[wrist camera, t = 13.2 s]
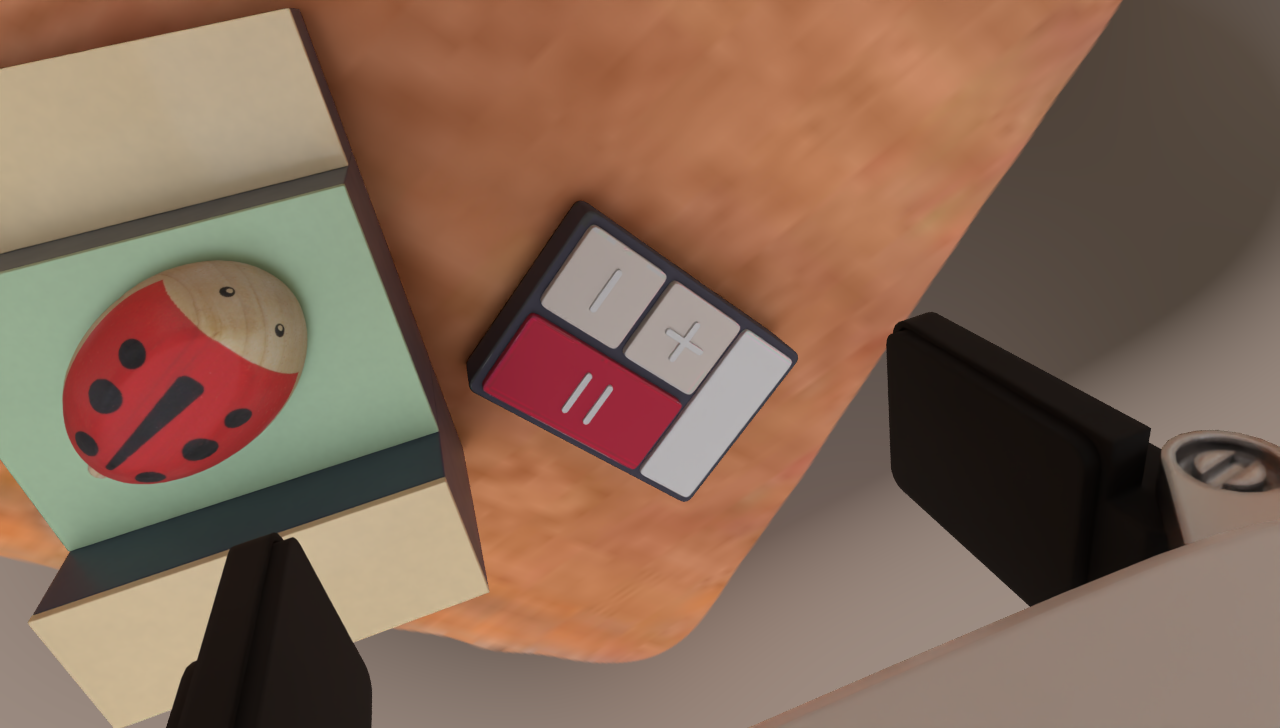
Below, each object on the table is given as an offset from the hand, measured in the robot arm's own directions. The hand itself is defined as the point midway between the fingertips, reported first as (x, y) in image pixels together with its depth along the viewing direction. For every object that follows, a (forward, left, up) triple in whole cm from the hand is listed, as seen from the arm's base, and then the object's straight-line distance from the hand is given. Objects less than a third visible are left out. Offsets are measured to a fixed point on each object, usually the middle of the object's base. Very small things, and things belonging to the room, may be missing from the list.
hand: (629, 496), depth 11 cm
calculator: (+12, +6, -28) cm, 32 cm away
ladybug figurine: (+3, -12, -20) cm, 24 cm away
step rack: (+4, -12, -28) cm, 31 cm away
